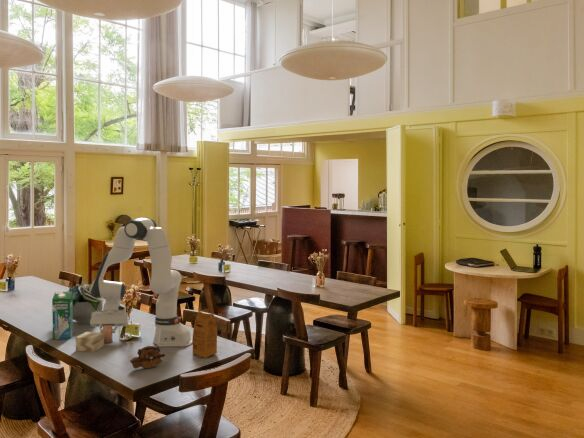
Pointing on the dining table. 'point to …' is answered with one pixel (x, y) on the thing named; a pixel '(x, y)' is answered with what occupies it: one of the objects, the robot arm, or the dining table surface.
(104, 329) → the brown upright cylinder
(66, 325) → the milk carton
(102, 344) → the beige patterned block
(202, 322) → the coffee package
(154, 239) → the robot arm
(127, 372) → the dining table surface
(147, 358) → the wooden carving
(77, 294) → the flower arrangement
